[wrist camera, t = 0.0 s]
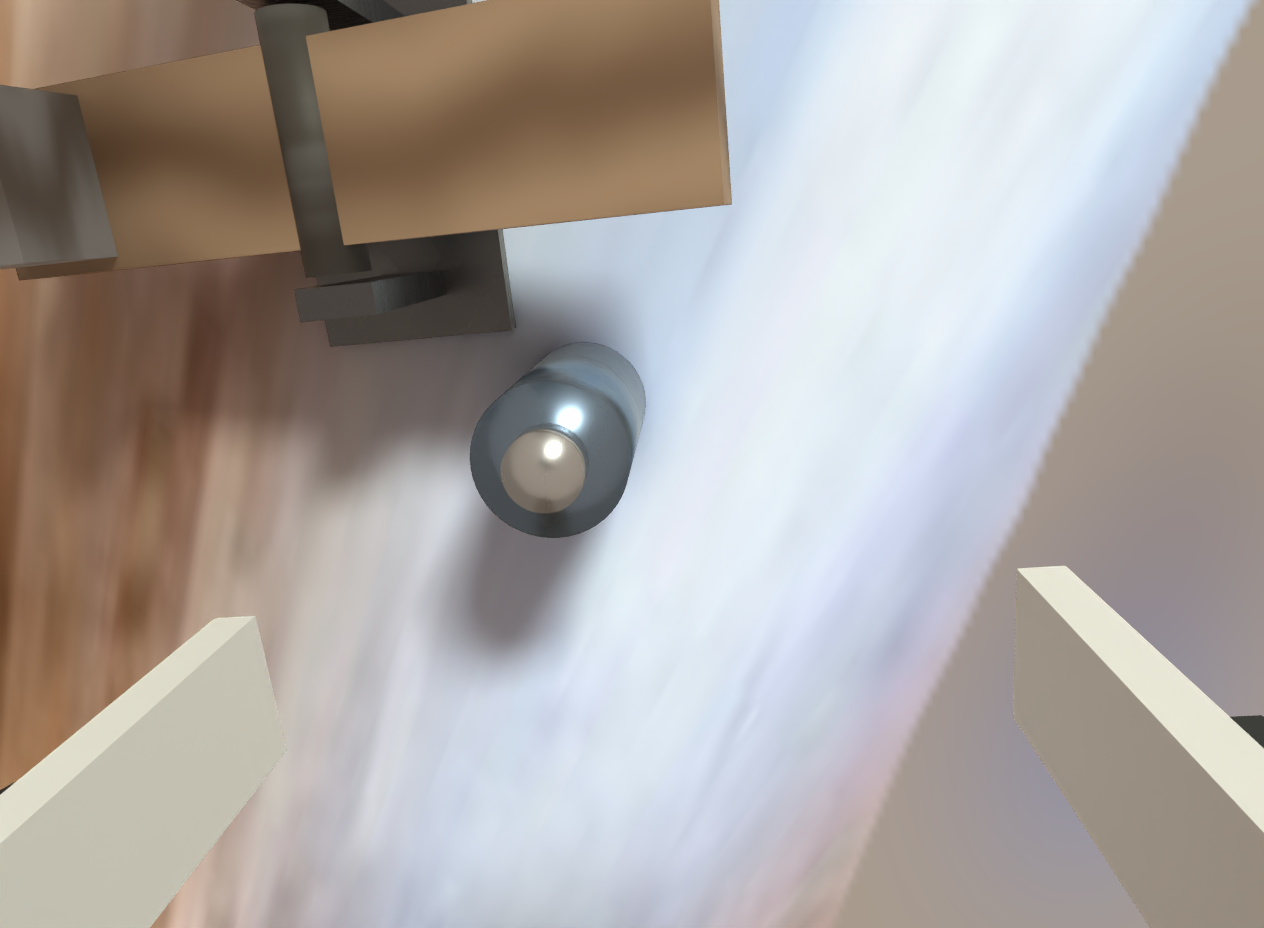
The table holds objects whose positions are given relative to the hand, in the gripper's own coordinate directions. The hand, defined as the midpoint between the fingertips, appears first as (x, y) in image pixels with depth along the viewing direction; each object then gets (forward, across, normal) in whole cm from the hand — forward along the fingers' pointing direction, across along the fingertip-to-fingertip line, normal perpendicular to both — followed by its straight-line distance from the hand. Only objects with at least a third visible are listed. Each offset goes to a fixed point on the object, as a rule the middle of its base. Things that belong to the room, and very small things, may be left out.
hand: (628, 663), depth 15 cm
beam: (+20, -12, +11) cm, 26 cm away
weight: (+28, -4, -1) cm, 28 cm away
